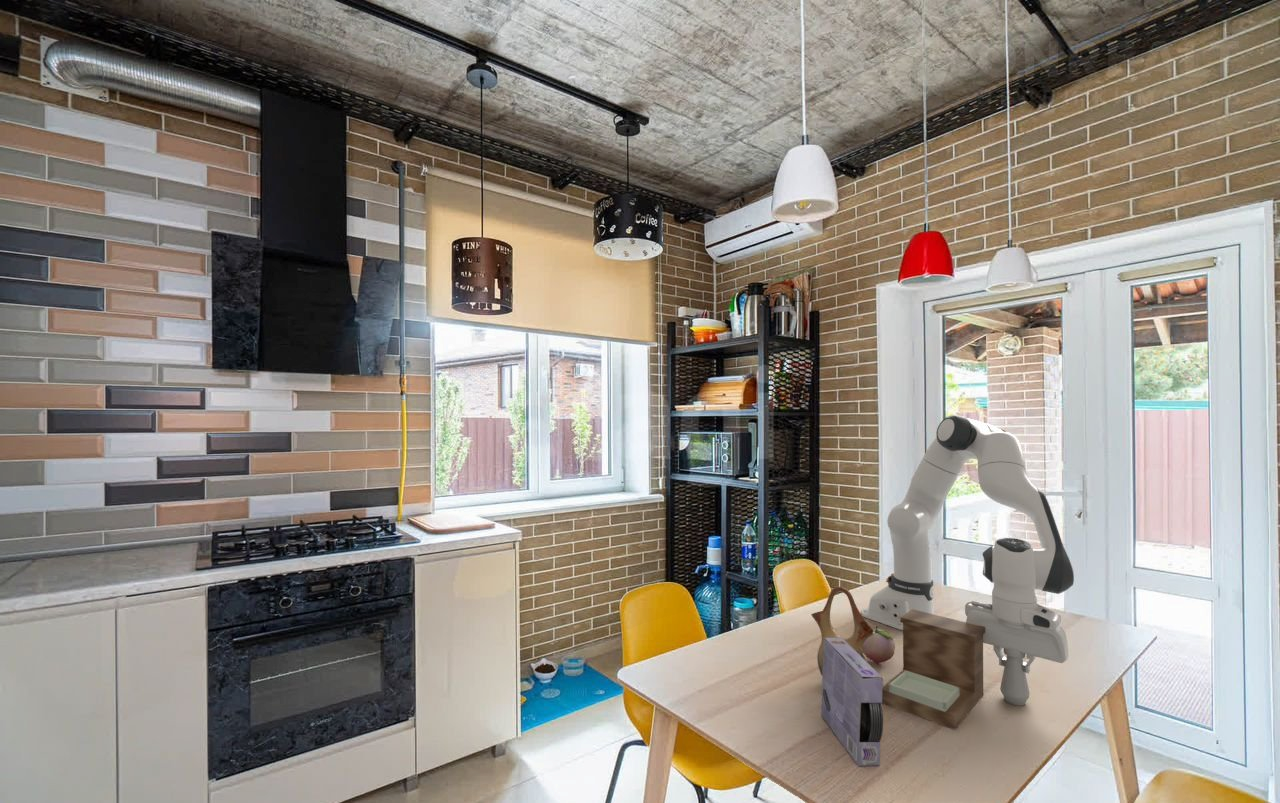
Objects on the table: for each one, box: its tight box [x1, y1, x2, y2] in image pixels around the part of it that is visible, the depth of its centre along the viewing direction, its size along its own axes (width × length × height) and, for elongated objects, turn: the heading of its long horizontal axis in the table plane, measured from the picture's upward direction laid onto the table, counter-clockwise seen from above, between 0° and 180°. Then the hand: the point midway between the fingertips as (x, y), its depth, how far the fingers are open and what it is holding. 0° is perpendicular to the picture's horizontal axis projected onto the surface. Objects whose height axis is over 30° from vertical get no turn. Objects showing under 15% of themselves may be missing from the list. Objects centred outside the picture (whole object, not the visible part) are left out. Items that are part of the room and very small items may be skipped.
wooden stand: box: [881, 609, 985, 730], centre depth 134 cm, size 17×22×16 cm
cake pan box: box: [820, 638, 884, 767], centre depth 116 cm, size 19×5×18 cm, turn 5°
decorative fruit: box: [862, 625, 896, 664], centre depth 152 cm, size 9×8×10 cm
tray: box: [889, 670, 960, 712], centre depth 130 cm, size 12×10×2 cm
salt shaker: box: [999, 648, 1031, 707], centre depth 132 cm, size 6×6×13 cm
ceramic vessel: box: [811, 586, 875, 678], centre depth 138 cm, size 16×9×25 cm, turn 40°
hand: (1014, 668), depth 132 cm, fingers closed on salt shaker, 3 cm apart
